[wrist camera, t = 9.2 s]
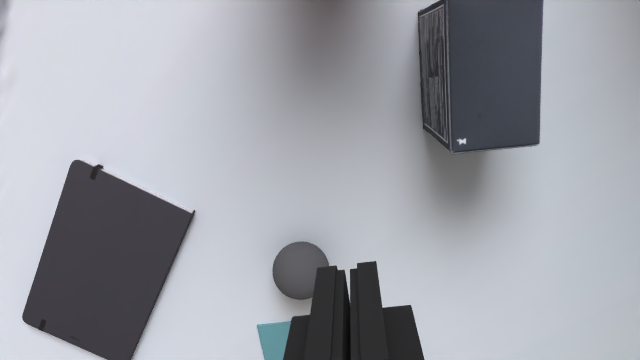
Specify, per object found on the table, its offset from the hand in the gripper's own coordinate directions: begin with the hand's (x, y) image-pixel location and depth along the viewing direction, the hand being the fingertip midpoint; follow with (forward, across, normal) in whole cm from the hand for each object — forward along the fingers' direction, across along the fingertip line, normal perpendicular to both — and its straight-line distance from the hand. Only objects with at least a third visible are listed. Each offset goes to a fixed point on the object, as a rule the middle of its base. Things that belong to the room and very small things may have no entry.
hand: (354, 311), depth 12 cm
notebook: (+30, +28, +11) cm, 42 cm away
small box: (+29, -10, -4) cm, 31 cm away
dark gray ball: (+26, +6, +12) cm, 30 cm away
